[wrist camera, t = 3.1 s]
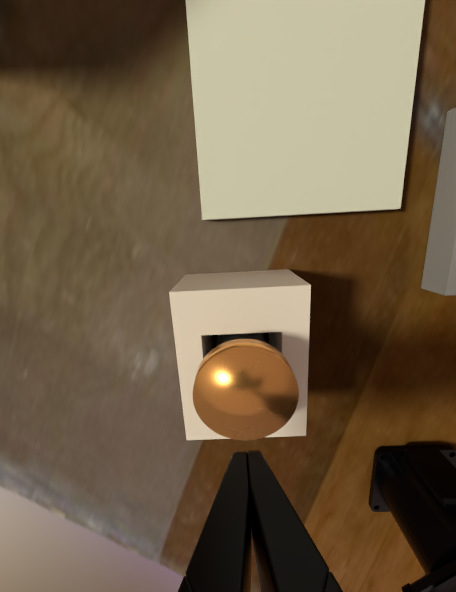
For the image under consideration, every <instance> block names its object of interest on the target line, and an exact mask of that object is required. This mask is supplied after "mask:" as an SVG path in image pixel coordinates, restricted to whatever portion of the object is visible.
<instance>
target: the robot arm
mask: <svg viewBox="0 0 456 592" xmlns="http://www.w3.org/2000/svg"><path fill="white" fill-rule="evenodd" d="M369 506H370V508H371V510H372V511H374V512H386V511H391V513H392V515H393V517H394V518H395V520H396V522H397V524H398V525H399V527H400V529H401V531H402V533H403V534H404V536H405V538H406V540H407V541H408V543H409V545H410V547H411V548H412V550H413V552H414V554H415V555H416V557H417V559H418V561H419V562H420V564H421V566H422V568H423V570H424V571H425V573H426V575H425V576H424V577H422V578H420V579H419V580H417V581H415V582H414V583H412V584H409V583H408V584H406V585H404V586H403V587H402V591H403V592H456V449H455V448H454V447H452V446H425V447H396V448H379V449H377V450H376V451H375V454H374V462H373V470H372V479H371V487H370V495H369ZM251 530H252V536H251ZM252 540H253V547H254V553H255V559H256V566H257V572H258V578H259V584H260V590H261V592H343V591H342V589H341V588H340V586H339V584H338V582H337V581H336V579H335V577H334V576H333V574H332V573H331V572H329V567H328V566H327V564H326V562H325V561H324V559H323V557H322V556H321V554H320V552H319V550H318V549H317V547H316V545H315V544H314V542H313V540H312V539H311V537H310V535H309V533H308V532H307V530H306V528H305V527H304V525H303V523H302V522H301V520H300V518H299V516H298V515H297V513H296V511H295V510H294V508H293V506H292V505H291V503H290V501H289V499H288V498H287V496H286V494H285V493H284V491H283V489H282V488H281V486H280V484H279V482H278V481H277V479H276V477H275V476H274V474H273V472H272V471H271V469H270V467H269V465H268V464H267V462H266V460H265V459H264V457H263V455H262V454H261V452H260V451H259V450H249V451H247V453H246V451H234V452H233V454H232V457H231V459H230V462H229V464H228V467H227V469H226V472H225V474H224V477H223V480H222V482H221V485H220V487H219V490H218V492H217V495H216V497H215V500H214V502H213V505H212V507H211V510H210V512H209V515H208V517H207V520H206V522H205V525H204V527H203V530H202V533H201V535H200V538H199V540H198V543H197V545H196V548H195V550H194V553H193V555H192V558H191V560H190V563H189V565H188V568H187V570H186V576H184V578H183V580H182V583H181V585H180V588H179V590H178V592H250V589H251V551H252Z"/></svg>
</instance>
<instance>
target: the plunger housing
mask: <svg viewBox="0 0 456 592" xmlns="http://www.w3.org/2000/svg"><path fill="white" fill-rule="evenodd" d="M169 295H170V304H171V312H172V321H173V329H174V338H175V346H176V355H177V363H178V372H179V380H180V389H181V397H182V406H183V414H184V423H185V431H186V440H203V439H230V438H227V437H224V436H221V435H219V434H217V433H216V432H214V431H212V430H211V429H210V428H209V427H207V426H206V425H205V424H204V423H203V422H202V420H201V419H200V417H199V416H198V414H197V412H196V410H195V407H194V404H193V386H194V382H195V378H196V373H197V370H198V367H199V365H200V363H201V361H202V360H203V358H204V357H205V356H206V355H207V354H208V353H209V352H210V351H211V350H212V339H211V335H222V334H244V333H266V332H268V339H269V344H270V345H271V346H273V347H275V348H276V349H277V350H279V351H280V352H281V353H282V354H283V355H284V356H285V358H286V359H287V361H288V362H289V364H290V366H291V369H292V371H293V373H294V375H295V378H296V380H297V383H298V388H299V399H298V404H297V407H296V410H295V412H294V414H293V416H292V417H291V419H290V420H289V421H288V422H287V423H286V424H285V425H284V426H283V427H282V428H281V429H279V430H278V431H276V432H275V433H273V434H271V435H269V436H266V437H285V436H306V422H307V391H308V361H309V330H310V300H311V285H310V284H309V283H307V282H306V281H304V280H303V279H302V278H300V277H299V276H297V275H296V274H294V273H293V272H291V271H290V270H289V269H283V270H264V271H244V272H225V273H205V274H186V275H185V276H184V277H183V278H182V279H181V280H180V281H179V282H178V284H177V285H176V286H175V287H174V288H173V289H172V290H171V291H170V292H169Z"/></svg>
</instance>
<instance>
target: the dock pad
mask: <svg viewBox="0 0 456 592" xmlns="http://www.w3.org/2000/svg"><path fill="white" fill-rule="evenodd" d="M424 5H425V0H186V12H187V26H188V39H189V52H190V65H191V78H192V91H193V104H194V117H195V130H196V143H197V156H198V170H199V183H200V196H201V209H202V220H219V219H237V218H255V217H273V216H290V215H308V214H326V213H344V212H362V211H379V210H394V209H401V201H402V192H403V184H404V175H405V167H406V158H407V150H408V141H409V133H410V124H411V116H412V107H413V99H414V90H415V82H416V73H417V65H418V56H419V48H420V39H421V31H422V22H423V14H424Z"/></svg>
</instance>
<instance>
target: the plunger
mask: <svg viewBox="0 0 456 592" xmlns="http://www.w3.org/2000/svg"><path fill="white" fill-rule="evenodd" d="M298 399H299V388H298V383H297V380H296V378H295V375H294V373H293V371H292V369H291V366H290V364H289V362H288V361H287V359H286V358H285V356H284V355H283V354H282V353H281V352H280V351H279V350H277V349H276V348H275V347H273V346H271V345H270V344H268V343H266V342H265V339H264V336H263V333H244V334H222V335H218V337H217V343H216V347H215V348H214V349H212V350H211V351H210V352H209V353H208V354H207V355H206V356H205V357H204V358H203V360H202V361H201V363H200V365H199V367H198V370H197V373H196V378H195V382H194V386H193V404H194V407H195V410H196V412H197V414H198V416H199V417H200V419H201V420H202V422H203V423H204V424H205V425H206V426H207V427H209V428H210V429H211V430H212V431H214V432H216V433H217V434H219V435H221V436H224V437H227V438H231V439H235V440H255V439H260V438H263V437H266V436H269V435H271V434H273V433H275V432H276V431H278V430H279V429H281V428H282V427H283V426H284V425H285V424H286V423H287V422H288V421H289V420H290V419H291V417H292V416H293V414H294V412H295V410H296V407H297V404H298Z"/></svg>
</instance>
